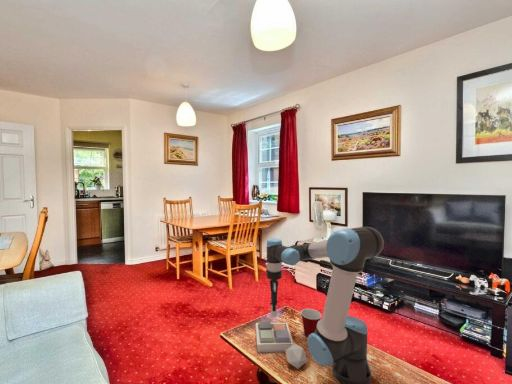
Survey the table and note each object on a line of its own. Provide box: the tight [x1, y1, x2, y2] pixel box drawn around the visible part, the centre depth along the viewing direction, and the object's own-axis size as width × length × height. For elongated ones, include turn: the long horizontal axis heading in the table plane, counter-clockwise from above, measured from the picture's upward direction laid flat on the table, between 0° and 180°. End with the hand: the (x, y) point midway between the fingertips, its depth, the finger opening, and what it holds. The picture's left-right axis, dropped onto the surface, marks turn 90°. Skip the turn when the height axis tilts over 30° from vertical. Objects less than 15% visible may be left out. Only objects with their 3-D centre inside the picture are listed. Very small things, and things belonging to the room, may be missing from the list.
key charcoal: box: [258, 320, 272, 330], centre depth 147 cm, size 7×6×3 cm
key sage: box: [260, 330, 274, 343], centre depth 138 cm, size 7×6×3 cm
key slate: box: [275, 330, 289, 343], centre depth 138 cm, size 7×6×3 cm
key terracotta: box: [273, 324, 286, 334], centre depth 147 cm, size 7×6×3 cm
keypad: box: [255, 322, 295, 354], centre depth 143 cm, size 20×17×4 cm
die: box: [284, 342, 308, 370], centre depth 124 cm, size 8×9×10 cm
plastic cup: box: [300, 308, 323, 339], centre depth 147 cm, size 11×11×12 cm
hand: (273, 316), depth 143 cm, fingers closed
